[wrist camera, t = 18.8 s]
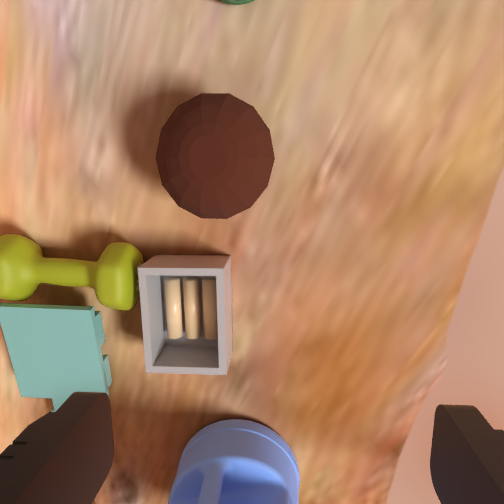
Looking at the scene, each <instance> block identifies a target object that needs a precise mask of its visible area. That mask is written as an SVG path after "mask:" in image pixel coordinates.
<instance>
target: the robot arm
mask: <svg viewBox="0 0 504 504" xmlns="http://www.w3.org/2000/svg"><path fill="white" fill-rule="evenodd" d="M433 429H434V430H433V438H432V448H431V457H430V470H431V477H432V482H433V486H434V489H435V491H436V494H437V496H438V498H439V500H440V502H441V504H504V431H503V430H494V429H493V428H492V427H491V426H490V424H489V423H488V422H487V420H486V419H485V418H484V417H483V415H482V414H481V413H480V412H479V410H478V409H477V408H476V407H474V406H468V405H438V406H437V408H436V412H435V418H434V428H433ZM113 456H114V440H113V430H112V420H111V409H110V400H109V397H108V395H107V393H104V392H74V393H72V394H71V395H70V396H69V398H68V399H67V400H66V401H65V402H64V403H63V404H62V405H61V406H60V407H59V408H58V410H57V411H56V412H49V413H47V414H46V415H44V416H43V417H41V418H39V419H38V420H36V421H35V422H33V423H31V424H30V425H28V427H27V428H26V429H25V430H24V431H23V432H22V433H21V434H20V435H19V436H18V437H17V438H16V439H15V440H14V441H13V444H12V445H9V446H8V447H7V448H6V449H5V450H4V451H3V452H2V453H1V454H0V504H92V502H93V501H94V499H95V497H96V495H97V493H98V492H99V490H100V488H101V486H102V484H103V483H104V481H105V479H106V477H107V475H108V473H109V471H110V468H111V465H112V461H113Z"/></svg>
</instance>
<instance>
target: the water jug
mask: <svg viewBox="0 0 504 504" xmlns="http://www.w3.org/2000/svg"><path fill="white" fill-rule="evenodd" d="M298 491H299V471H298V466H297V462H296V459H295V456H294V454H293V452H292V450H291V449H290V447H289V446H288V444H287V443H286V442H285V441H284V439H283V438H282V437H280V436H279V435H278V434H277V433H276V432H274V431H273V430H271V429H270V428H268V427H266V426H264V425H262V424H259V423H256V422H253V421H249V420H242V419H229V420H223V421H218V422H215V423H212V424H210V425H208V426H206V427H204V428H203V429H201V430H200V431H198V432H197V433H196V434H195V435H194V436H193V437H192V438H191V439H190V440H189V442H188V443H187V445H186V446H185V448H184V450H183V453H182V456H181V459H180V461H179V465H178V470H177V474H176V477H175V480H174V483H173V486H172V489H171V492H170V496H169V502H168V504H299V499H298Z"/></svg>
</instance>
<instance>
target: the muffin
mask: <svg viewBox="0 0 504 504" xmlns="http://www.w3.org/2000/svg"><path fill="white" fill-rule="evenodd" d="M274 159H275V158H274V152H273V147H272V141H271V135H270V130H269V129H268V127H267V126H266V124H265V123H264V121H263V120H262V118H261V117H260V116H259V114H258V113H257V111H256V110H255V108H254V107H253V106H251V105H249V104H247V103H246V102H244V101H242V100H240V99H238V98H236V97H234V96H233V95H231V94H200V95H198V96H196V97H194V98H192V99H191V100H189V101H187V102H185V103H183V104H181V105H179V106H178V107H177V108H176V109H175V111H174V112H173V113H172V115H171V116H170V118H169V119H168V121H167V122H166V123H165V125H164V126H163V128H162V129H161V133H160V138H159V144H158V149H157V155H156V160H157V164H158V169H159V173H160V177H161V181H162V185H163V186H164V188H165V189H166V190H167V192H168V193H169V194H170V196H171V197H172V198H173V200H174V201H175V202H176V204H177V205H178V206H179V207H181V208H183V209H185V210H187V211H189V212H191V213H192V214H194V215H196V216H198V217H200V218H216V219H227V218H230V217H232V216H234V215H236V214H238V213H240V212H242V211H244V210H246V209H248V208H250V207H251V206H252V205H253V204H254V202H255V201H256V200H257V199H258V198H259V196H260V195H261V194H262V193H263V191H264V190H265V189H266V188H267V186H268V183H269V179H270V175H271V171H272V167H273V163H274Z"/></svg>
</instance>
